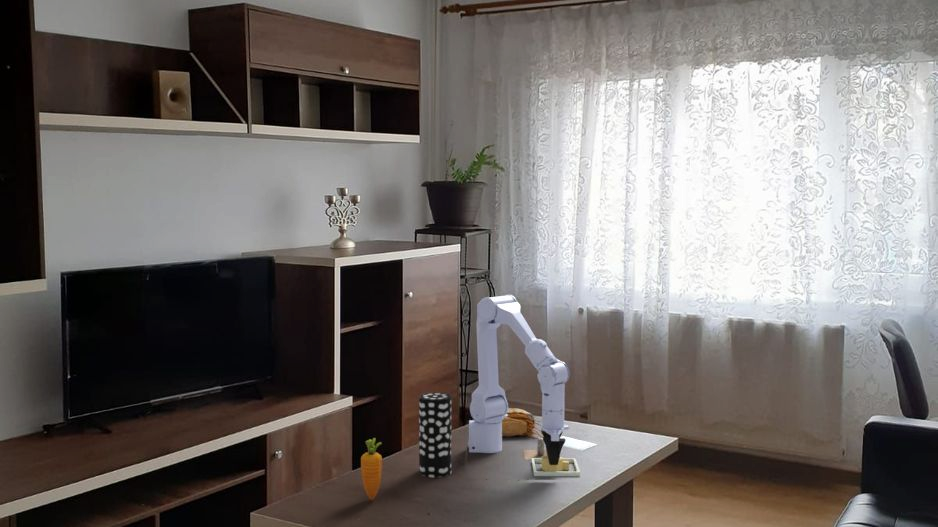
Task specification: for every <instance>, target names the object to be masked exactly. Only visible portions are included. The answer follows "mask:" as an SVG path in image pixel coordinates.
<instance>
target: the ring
mask: <svg viewBox="0 0 938 527" xmlns="http://www.w3.org/2000/svg"><path fill="white" fill-rule="evenodd" d="M563 458H564V457H563V456H561V455H560V458H559V462H558V465H550V464H549V460H548V455H546V456H542V463H541V471H567V470H568V471H569V470H570V463H569V461H563Z"/></svg>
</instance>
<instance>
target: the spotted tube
mask: <svg viewBox="0 0 938 527" xmlns="http://www.w3.org/2000/svg"><path fill="white" fill-rule="evenodd" d="M418 434H419V435H418V451H419V452H418V465H419V468H418V472H419V475H421V476H423V477H425V478H443V477H447V476H450V475H451V474H452V394H449V393H446V392H445V393H444V392H427V393H422V394H420V395H418Z"/></svg>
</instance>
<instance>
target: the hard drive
mask: <svg viewBox="0 0 938 527" xmlns="http://www.w3.org/2000/svg"><path fill="white" fill-rule="evenodd" d="M560 438H565V443H564V445H563V447H564V448H568V449H572V450H577V451H581V452H584V451H586V450H588V449H591V448H594V447H596V446H599V444H597V443H593V442H589V441H585V440H582V439H581V440H580V439H577V438H572V437H568V436H563V435H561V437H560Z"/></svg>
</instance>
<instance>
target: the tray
mask: <svg viewBox="0 0 938 527" xmlns="http://www.w3.org/2000/svg"><path fill="white" fill-rule="evenodd" d="M562 458H563V461H569V464H573V466H574V469H575V471H569V470H568V471H567V470H562V471H544V470H538V471H537V467H536V464H537V463H539V464H542V458H532V460H531V467H532V470H533V471H532V472H533V477H581V471H580V468H579V465H578V462H577V459H576V458H574V457H571V458H570V457H569V458H568V457H562Z"/></svg>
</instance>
